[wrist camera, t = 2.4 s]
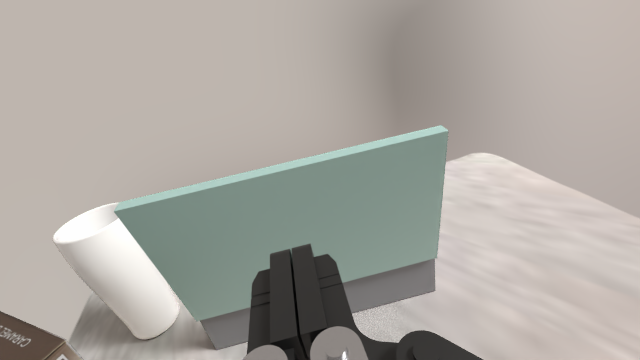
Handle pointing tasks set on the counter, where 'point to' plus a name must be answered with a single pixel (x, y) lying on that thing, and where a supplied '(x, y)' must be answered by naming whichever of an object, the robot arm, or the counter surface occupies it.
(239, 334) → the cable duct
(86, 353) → the counter surface
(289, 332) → the robot arm
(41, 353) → the coffee box
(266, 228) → the panel
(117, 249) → the white tapered cylinder
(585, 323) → the counter surface
